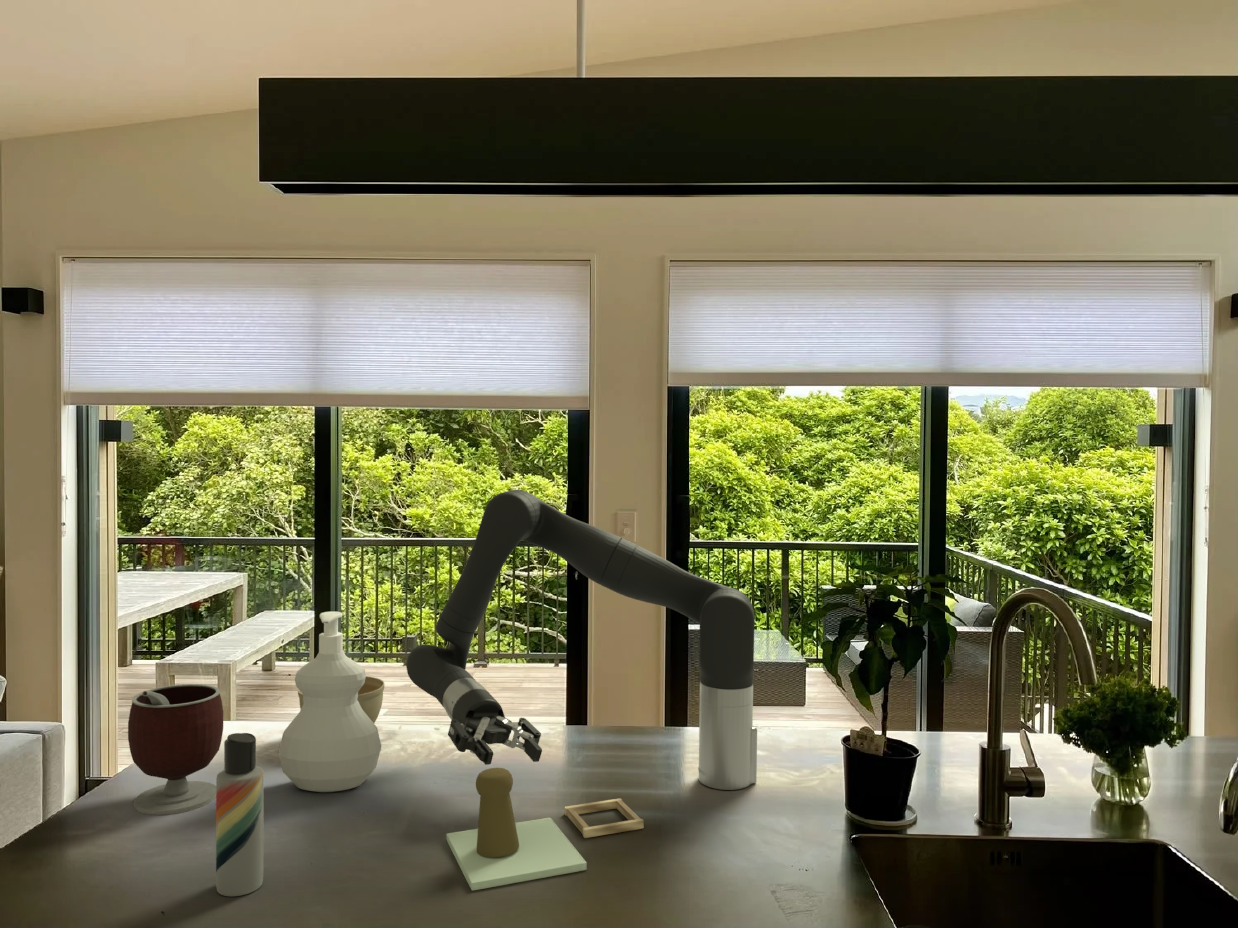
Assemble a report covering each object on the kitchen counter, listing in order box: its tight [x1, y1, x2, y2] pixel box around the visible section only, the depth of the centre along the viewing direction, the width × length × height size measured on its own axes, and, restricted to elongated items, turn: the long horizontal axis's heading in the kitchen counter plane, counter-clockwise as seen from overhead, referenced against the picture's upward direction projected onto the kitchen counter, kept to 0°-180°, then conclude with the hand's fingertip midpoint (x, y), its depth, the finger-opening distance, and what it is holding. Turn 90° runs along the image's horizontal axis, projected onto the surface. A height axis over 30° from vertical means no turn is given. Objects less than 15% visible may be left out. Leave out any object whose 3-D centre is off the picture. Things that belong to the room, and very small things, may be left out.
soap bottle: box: [278, 611, 382, 793], centre depth 153 cm, size 17×12×29 cm
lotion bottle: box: [215, 732, 264, 897], centre depth 118 cm, size 6×6×20 cm
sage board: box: [446, 817, 588, 891], centre depth 128 cm, size 16×16×1 cm
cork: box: [475, 767, 519, 857], centre depth 127 cm, size 6×6×11 cm
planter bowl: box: [297, 675, 385, 724], centre depth 176 cm, size 16×16×11 cm
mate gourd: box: [127, 683, 224, 816], centre depth 145 cm, size 16×14×20 cm
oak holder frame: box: [563, 798, 645, 839], centre depth 140 cm, size 10×9×1 cm
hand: (514, 757), depth 139 cm, fingers open, 8 cm apart
